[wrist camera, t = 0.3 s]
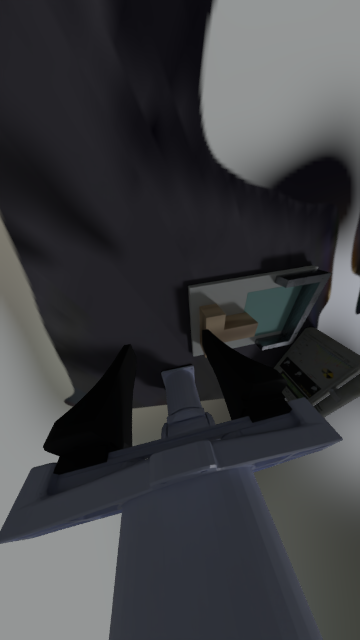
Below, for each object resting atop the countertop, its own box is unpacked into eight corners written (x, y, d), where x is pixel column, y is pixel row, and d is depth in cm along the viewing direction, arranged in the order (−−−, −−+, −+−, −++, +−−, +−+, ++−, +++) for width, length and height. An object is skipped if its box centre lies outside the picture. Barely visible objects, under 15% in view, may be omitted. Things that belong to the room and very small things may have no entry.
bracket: (283, 336, 31) (291, 343, 29) (254, 342, 31) (261, 350, 29) (315, 268, 22) (331, 272, 20) (276, 275, 22) (288, 280, 20)
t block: (240, 335, 28) (250, 347, 26) (199, 344, 28) (205, 357, 25) (249, 297, 23) (263, 307, 20) (199, 306, 22) (206, 318, 20)
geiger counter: (383, 380, 21) (292, 435, 35) (408, 377, 22) (310, 431, 36) (302, 327, 32) (257, 384, 46) (322, 326, 34) (273, 382, 47)
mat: (280, 334, 32) (284, 337, 31) (192, 353, 30) (193, 356, 29) (312, 265, 23) (318, 266, 22) (188, 285, 21) (189, 288, 20)
